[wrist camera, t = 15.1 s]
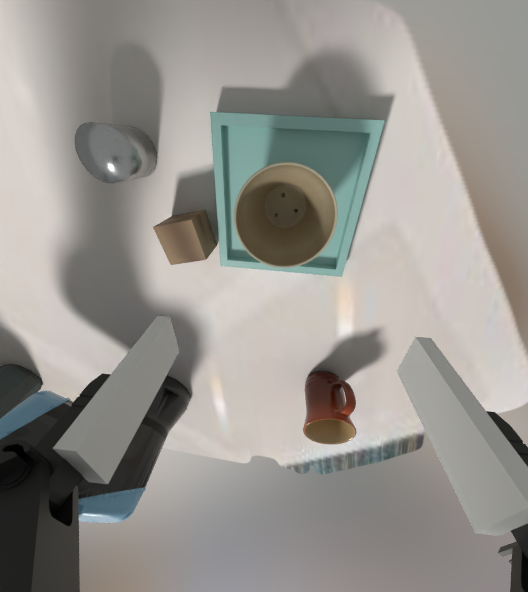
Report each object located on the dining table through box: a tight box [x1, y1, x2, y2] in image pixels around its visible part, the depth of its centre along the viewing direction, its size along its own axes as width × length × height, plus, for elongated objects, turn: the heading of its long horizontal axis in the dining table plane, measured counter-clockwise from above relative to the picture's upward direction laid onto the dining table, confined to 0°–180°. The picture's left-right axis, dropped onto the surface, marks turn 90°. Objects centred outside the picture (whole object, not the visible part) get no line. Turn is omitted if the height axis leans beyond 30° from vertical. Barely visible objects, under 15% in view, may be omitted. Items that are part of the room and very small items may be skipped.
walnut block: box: [153, 210, 217, 265], centre depth 29 cm, size 5×5×5 cm
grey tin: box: [75, 122, 157, 183], centre depth 24 cm, size 5×5×6 cm
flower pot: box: [234, 162, 338, 268], centre depth 25 cm, size 10×10×7 cm
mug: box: [303, 372, 356, 444], centre depth 41 cm, size 12×9×10 cm
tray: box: [210, 112, 385, 277], centre depth 27 cm, size 17×17×2 cm
